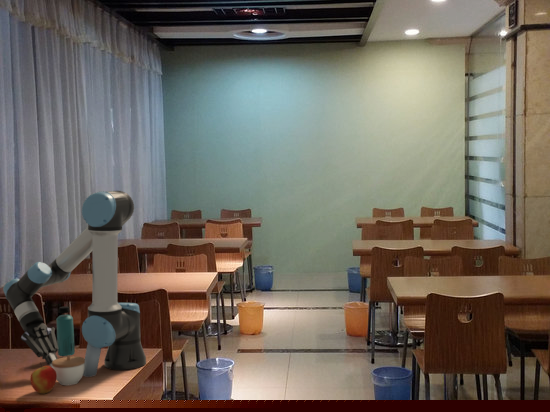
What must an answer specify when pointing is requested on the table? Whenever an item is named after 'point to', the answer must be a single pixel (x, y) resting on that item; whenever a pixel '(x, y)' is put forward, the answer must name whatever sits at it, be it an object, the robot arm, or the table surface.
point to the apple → (43, 379)
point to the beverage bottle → (65, 333)
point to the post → (91, 360)
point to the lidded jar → (69, 369)
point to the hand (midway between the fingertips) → (57, 370)
